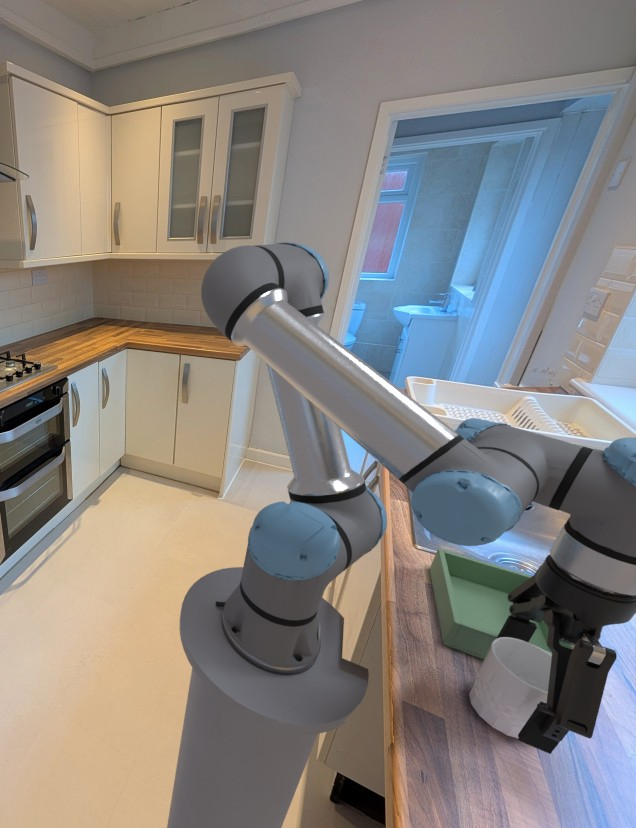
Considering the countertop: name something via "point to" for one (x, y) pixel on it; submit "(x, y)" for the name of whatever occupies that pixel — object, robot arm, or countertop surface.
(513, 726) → the white cup
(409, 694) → the countertop surface
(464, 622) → the tray
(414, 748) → the countertop surface
